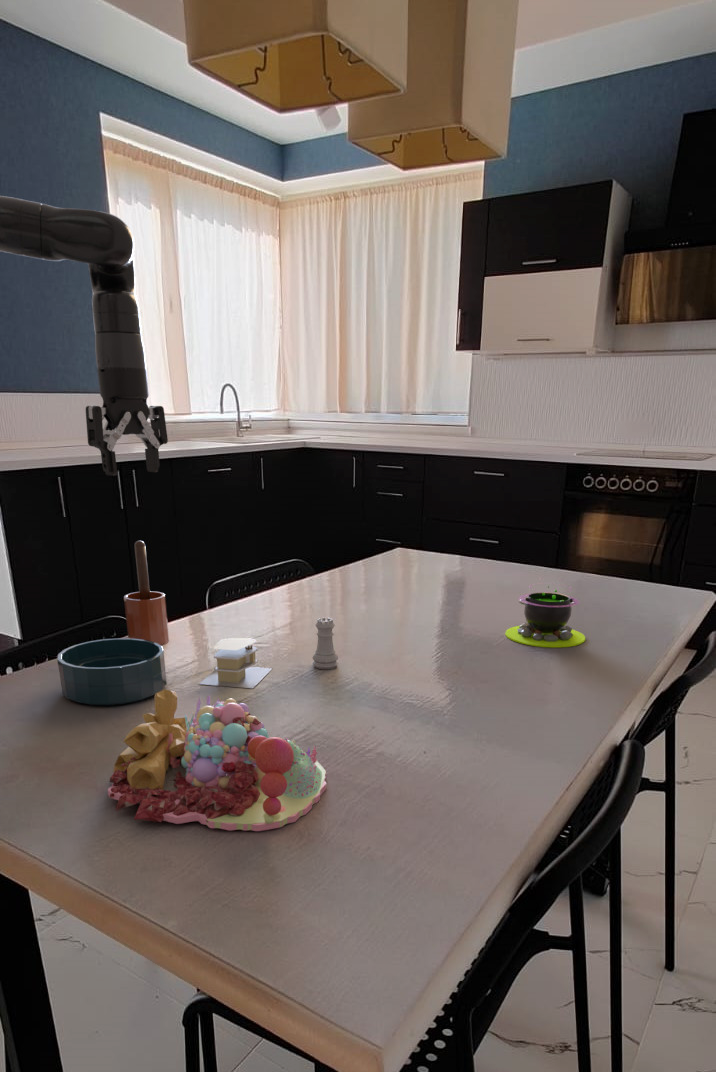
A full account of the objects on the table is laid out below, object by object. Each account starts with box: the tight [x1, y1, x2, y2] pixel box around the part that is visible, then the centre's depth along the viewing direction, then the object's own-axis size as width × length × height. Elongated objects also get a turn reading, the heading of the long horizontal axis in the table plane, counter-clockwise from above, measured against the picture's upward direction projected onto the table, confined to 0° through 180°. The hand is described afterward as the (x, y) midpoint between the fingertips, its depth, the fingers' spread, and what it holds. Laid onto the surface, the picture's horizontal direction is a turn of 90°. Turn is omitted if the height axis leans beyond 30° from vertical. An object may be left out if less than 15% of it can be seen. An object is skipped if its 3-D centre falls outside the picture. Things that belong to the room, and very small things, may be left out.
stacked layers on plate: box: [198, 637, 273, 689], centre depth 123 cm, size 10×9×6 cm
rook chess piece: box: [311, 617, 339, 670], centre depth 128 cm, size 4×4×8 cm
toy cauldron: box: [505, 576, 586, 649], centre depth 145 cm, size 15×15×11 cm
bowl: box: [56, 637, 168, 706], centre depth 117 cm, size 15×15×6 cm
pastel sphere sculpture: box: [107, 688, 327, 832], centre depth 88 cm, size 25×24×9 cm
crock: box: [123, 590, 170, 646], centre depth 138 cm, size 7×7×9 cm
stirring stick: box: [134, 540, 151, 600], centre depth 136 cm, size 3×2×18 cm, turn 54°
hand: (132, 473), depth 128 cm, fingers open, 8 cm apart
